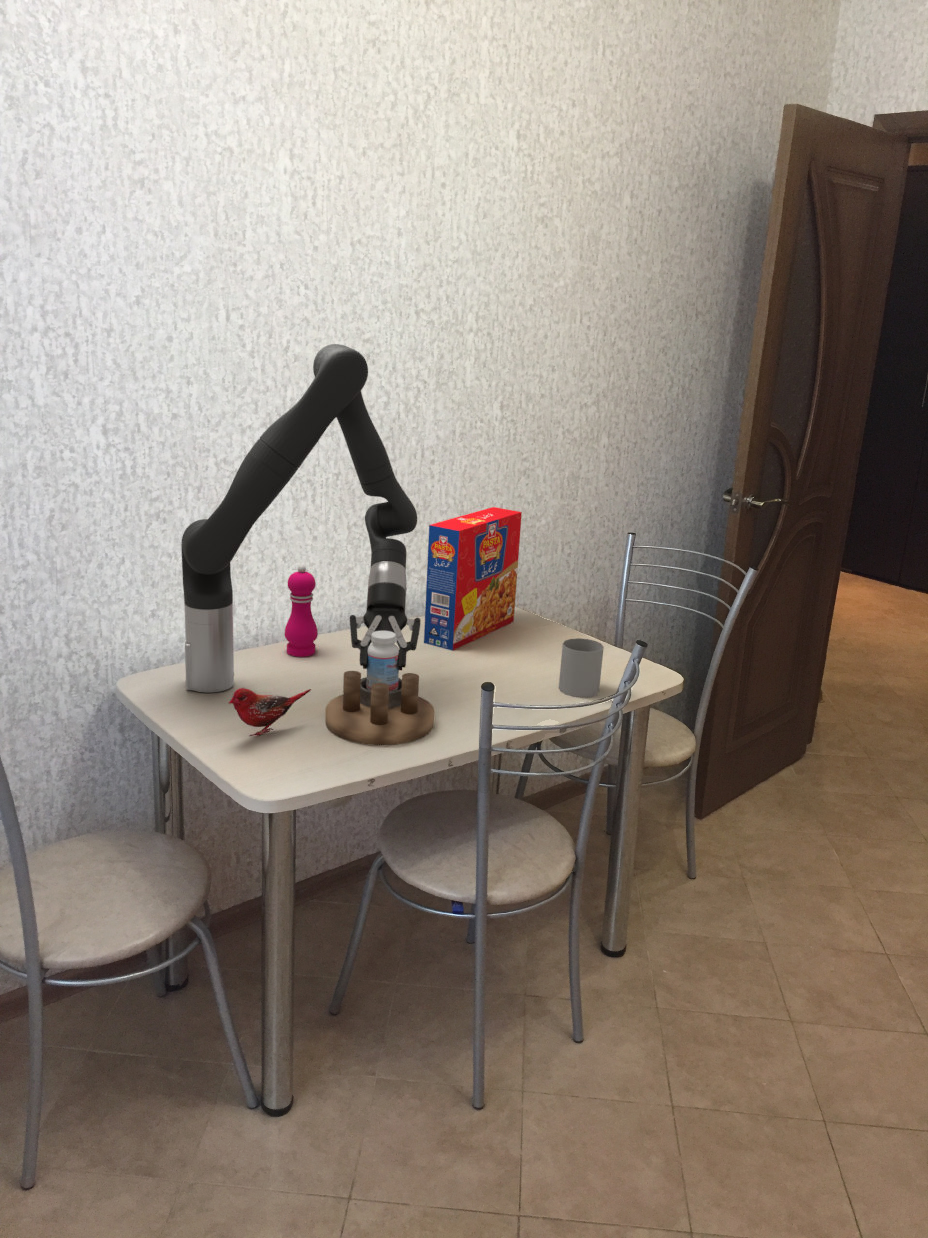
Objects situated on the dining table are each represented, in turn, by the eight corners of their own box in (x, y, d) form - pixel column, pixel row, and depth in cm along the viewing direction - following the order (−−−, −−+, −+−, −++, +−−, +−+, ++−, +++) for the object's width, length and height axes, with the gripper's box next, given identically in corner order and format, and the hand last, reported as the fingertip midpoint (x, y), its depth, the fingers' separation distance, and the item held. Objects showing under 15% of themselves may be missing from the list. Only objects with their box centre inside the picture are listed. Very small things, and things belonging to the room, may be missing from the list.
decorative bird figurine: (224, 741, 180) (223, 689, 177) (306, 717, 192) (306, 667, 189) (233, 747, 178) (232, 694, 175) (315, 722, 190) (316, 672, 187)
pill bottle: (393, 697, 193) (395, 641, 189) (362, 693, 194) (363, 637, 190) (401, 685, 198) (403, 631, 195) (371, 681, 199) (372, 627, 196)
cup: (576, 679, 219) (580, 635, 216) (606, 691, 213) (611, 646, 210) (550, 688, 213) (554, 643, 210) (581, 700, 208) (585, 654, 204)
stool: (330, 747, 180) (330, 697, 177) (321, 702, 199) (322, 657, 196) (443, 743, 185) (445, 694, 182) (424, 699, 204) (426, 654, 201)
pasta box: (452, 650, 232) (459, 530, 223) (423, 643, 236) (429, 524, 227) (513, 621, 255) (521, 512, 246) (486, 615, 259) (493, 506, 250)
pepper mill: (324, 651, 227) (325, 564, 220) (302, 660, 221) (303, 571, 214) (299, 644, 230) (300, 558, 224) (277, 652, 224) (277, 564, 218)
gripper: (349, 579, 196) (343, 658, 189) (424, 582, 197) (421, 661, 190) (351, 597, 203) (345, 674, 196) (423, 600, 204) (420, 677, 196)
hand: (382, 667), depth 193 cm, fingers closed on pill bottle, 6 cm apart
